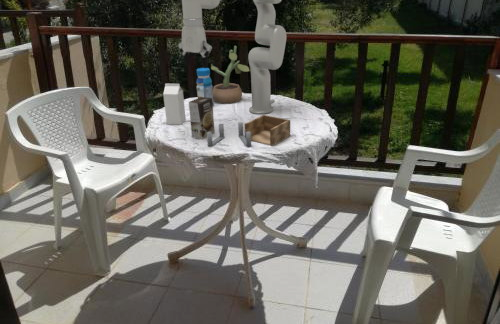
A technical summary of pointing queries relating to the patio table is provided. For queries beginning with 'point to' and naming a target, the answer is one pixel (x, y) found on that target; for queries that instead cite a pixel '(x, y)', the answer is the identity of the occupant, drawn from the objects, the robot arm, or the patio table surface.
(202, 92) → the beverage bottle
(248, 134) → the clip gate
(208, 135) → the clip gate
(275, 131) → the wooden tray
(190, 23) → the robot arm
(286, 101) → the patio table surface
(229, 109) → the patio table surface
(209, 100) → the coffee box
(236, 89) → the potted plant
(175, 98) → the milk carton
